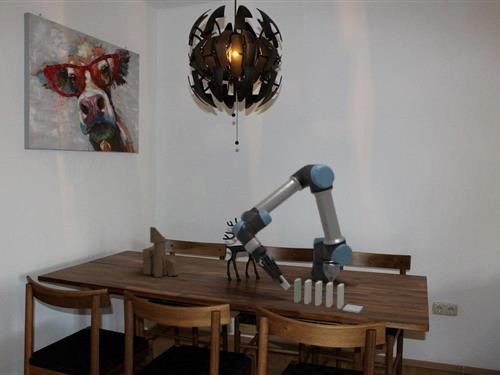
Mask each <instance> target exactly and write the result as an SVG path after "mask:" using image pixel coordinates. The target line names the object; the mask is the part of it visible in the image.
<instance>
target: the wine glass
mask: <svg viewBox="0 0 500 375" xmlns="http://www.w3.org/2000/svg"><path fill="white" fill-rule="evenodd" d="M340 267H341V266H340V263H339V262H333V261H326V262H323V269H324V274H325V275H326V277H327V278H328V279H329V281H330V282H333V283H334V281H333V280H334V279H335V278H336V277H337V278H338V275H339V273H340V269H341V268H340ZM323 294H324V295H326V291H324V292H323ZM333 296H337V291H333Z"/></svg>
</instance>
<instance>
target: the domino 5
mask: <svg viewBox="0 0 500 375" xmlns="http://www.w3.org/2000/svg"><path fill="white" fill-rule="evenodd" d="M336 289H337V291H336V292H337V295H336V297H337V298H336V310H341V309H343V308H344V307H345V305H344V304H345V303H344V301H345V284H344V283H341V282H340V284H338V285H337V287H336Z"/></svg>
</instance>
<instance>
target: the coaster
mask: <svg viewBox="0 0 500 375" xmlns="http://www.w3.org/2000/svg"><path fill="white" fill-rule="evenodd" d="M363 308H364V306H362V305H361V306H360V305H355V304H348V303H347V304H346V305H344V306H343V307H342V311H343V312H349V313H357V314H360V312H361V311H362V310H363Z"/></svg>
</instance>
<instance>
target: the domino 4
mask: <svg viewBox="0 0 500 375" xmlns="http://www.w3.org/2000/svg"><path fill="white" fill-rule="evenodd" d="M325 286H326V289H325V292H326V294H325V308H331V307H332V306H333V300H334V299H333V298H334V295H333V292H334V281H333V282H327V284H326V285H325Z"/></svg>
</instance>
